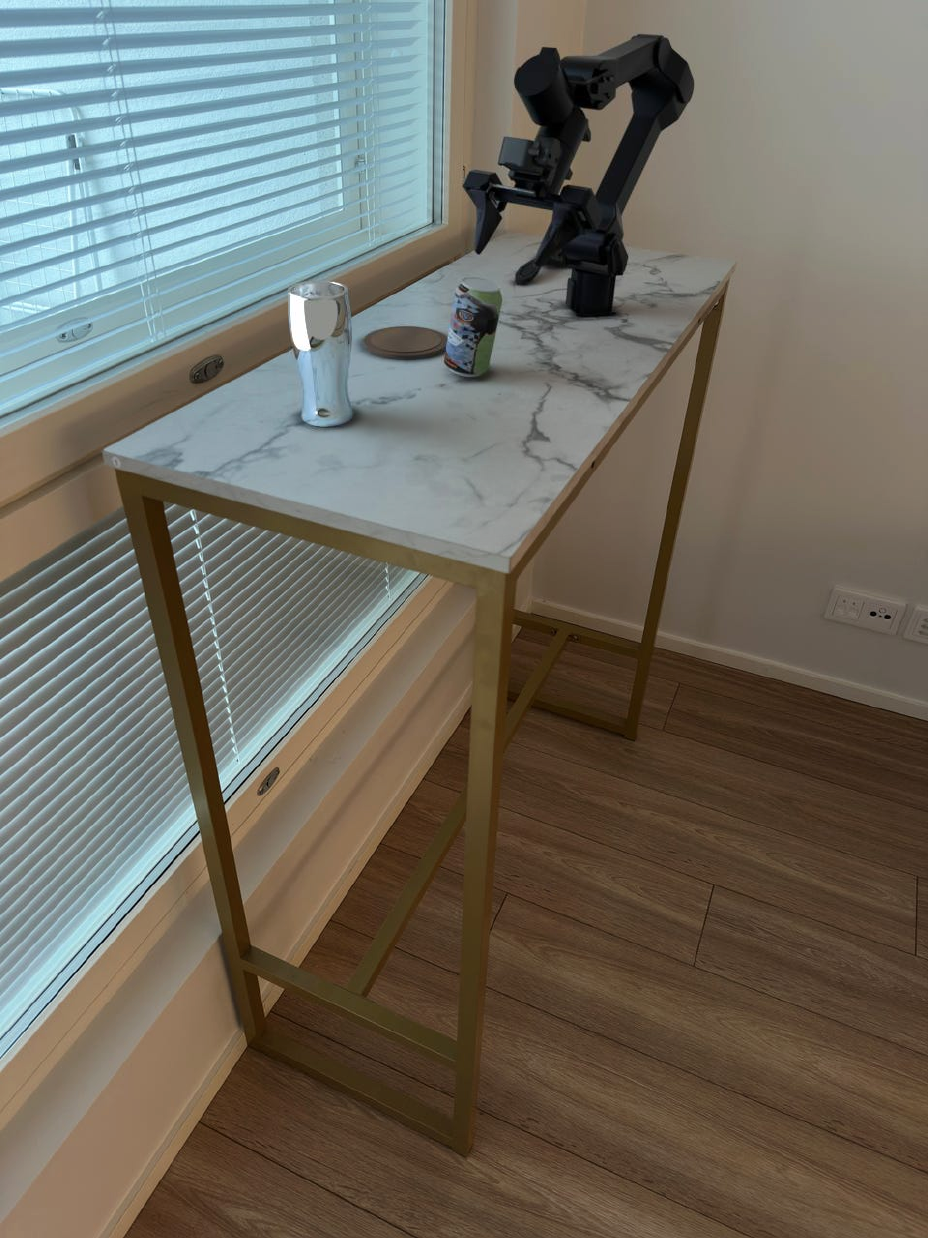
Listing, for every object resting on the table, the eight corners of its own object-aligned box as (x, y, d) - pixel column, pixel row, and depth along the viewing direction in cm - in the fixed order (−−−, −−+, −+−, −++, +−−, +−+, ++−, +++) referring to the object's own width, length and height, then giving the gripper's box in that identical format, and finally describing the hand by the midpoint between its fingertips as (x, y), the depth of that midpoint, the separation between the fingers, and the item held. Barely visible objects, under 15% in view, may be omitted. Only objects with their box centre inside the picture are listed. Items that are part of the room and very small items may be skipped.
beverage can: (442, 364, 123) (442, 273, 116) (496, 363, 124) (499, 273, 116) (445, 382, 118) (446, 288, 111) (501, 381, 119) (505, 287, 111)
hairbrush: (497, 263, 153) (556, 224, 170) (496, 285, 155) (555, 245, 172) (542, 271, 150) (598, 231, 167) (541, 293, 152) (596, 251, 169)
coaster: (439, 328, 135) (440, 323, 134) (455, 357, 125) (455, 352, 125) (359, 331, 133) (359, 327, 132) (368, 361, 123) (368, 356, 123)
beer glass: (365, 409, 110) (359, 283, 102) (341, 432, 105) (332, 301, 96) (314, 401, 112) (303, 276, 103) (287, 423, 107) (274, 294, 98)
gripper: (470, 100, 115) (421, 211, 115) (600, 115, 107) (547, 235, 107) (502, 156, 125) (457, 259, 125) (623, 174, 117) (575, 284, 117)
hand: (505, 258), depth 118 cm, fingers open, 9 cm apart
